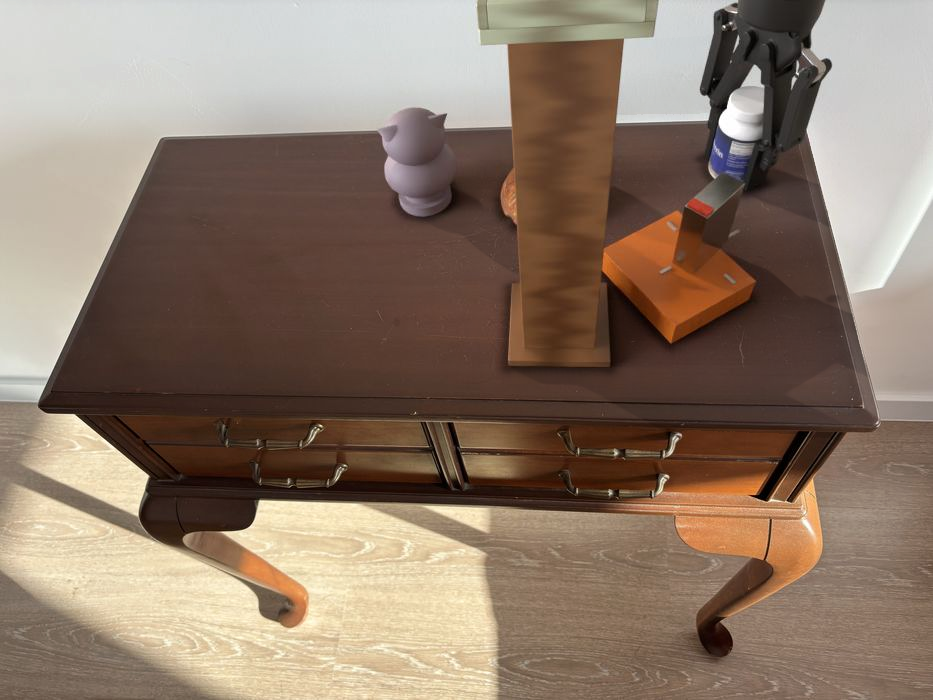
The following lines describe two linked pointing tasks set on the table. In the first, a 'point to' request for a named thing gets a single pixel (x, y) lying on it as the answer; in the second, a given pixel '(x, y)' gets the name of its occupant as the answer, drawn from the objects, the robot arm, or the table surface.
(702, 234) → the steel brick red tip
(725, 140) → the pill bottle
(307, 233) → the table surface
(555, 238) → the brown wooden square column
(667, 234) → the orange flat square block
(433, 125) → the cat figurine
